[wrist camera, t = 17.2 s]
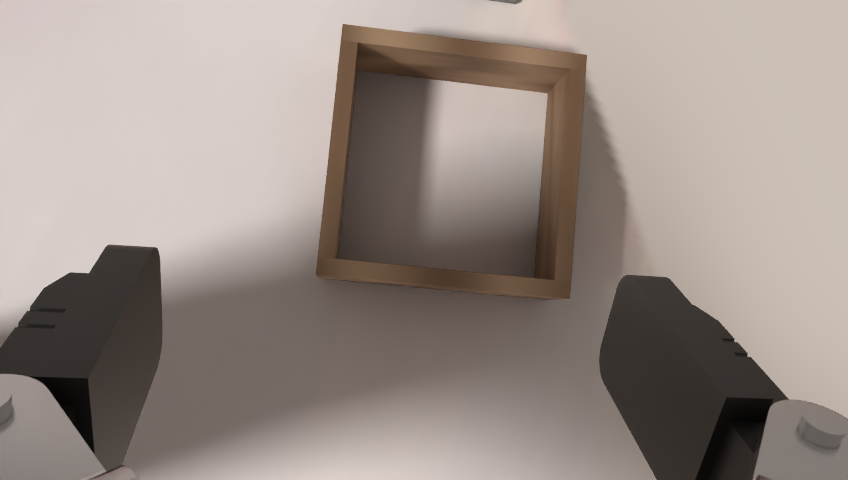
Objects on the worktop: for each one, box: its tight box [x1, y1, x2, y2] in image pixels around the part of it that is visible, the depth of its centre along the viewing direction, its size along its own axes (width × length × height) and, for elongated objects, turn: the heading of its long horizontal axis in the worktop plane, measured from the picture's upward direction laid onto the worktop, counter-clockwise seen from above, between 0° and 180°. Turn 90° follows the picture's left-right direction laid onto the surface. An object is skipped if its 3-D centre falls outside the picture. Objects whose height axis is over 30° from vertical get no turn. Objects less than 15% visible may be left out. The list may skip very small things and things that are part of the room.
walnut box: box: [316, 24, 587, 300], centre depth 36 cm, size 12×12×4 cm
